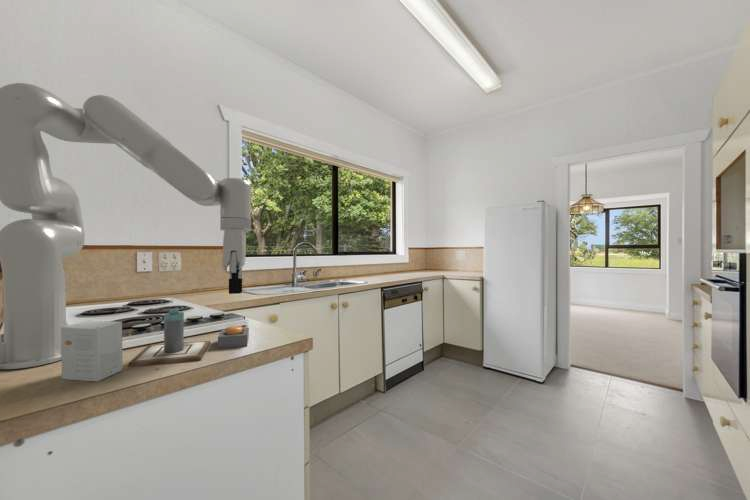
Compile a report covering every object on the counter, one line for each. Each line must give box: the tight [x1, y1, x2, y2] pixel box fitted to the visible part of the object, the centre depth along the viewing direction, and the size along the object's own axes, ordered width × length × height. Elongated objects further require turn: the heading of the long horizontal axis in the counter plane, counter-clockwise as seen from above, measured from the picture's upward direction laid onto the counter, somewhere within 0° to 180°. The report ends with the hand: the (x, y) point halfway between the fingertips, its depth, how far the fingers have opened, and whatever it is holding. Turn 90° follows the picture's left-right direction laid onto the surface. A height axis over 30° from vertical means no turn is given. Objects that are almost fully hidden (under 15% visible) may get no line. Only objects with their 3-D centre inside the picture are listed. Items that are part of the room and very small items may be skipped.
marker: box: [163, 308, 185, 353], centre depth 76 cm, size 4×4×10 cm
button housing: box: [217, 327, 250, 349], centre depth 85 cm, size 7×7×3 cm
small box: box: [60, 320, 124, 383], centre depth 63 cm, size 8×6×10 cm
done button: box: [225, 325, 243, 335], centre depth 85 cm, size 4×4×2 cm
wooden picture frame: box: [128, 340, 211, 367], centre depth 76 cm, size 14×12×1 cm
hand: (235, 293), depth 85 cm, fingers closed
